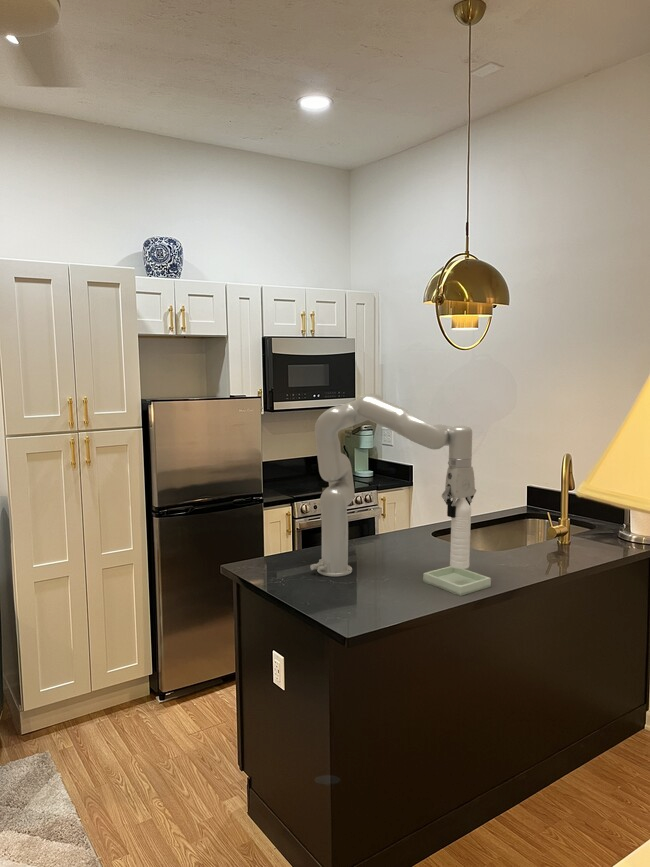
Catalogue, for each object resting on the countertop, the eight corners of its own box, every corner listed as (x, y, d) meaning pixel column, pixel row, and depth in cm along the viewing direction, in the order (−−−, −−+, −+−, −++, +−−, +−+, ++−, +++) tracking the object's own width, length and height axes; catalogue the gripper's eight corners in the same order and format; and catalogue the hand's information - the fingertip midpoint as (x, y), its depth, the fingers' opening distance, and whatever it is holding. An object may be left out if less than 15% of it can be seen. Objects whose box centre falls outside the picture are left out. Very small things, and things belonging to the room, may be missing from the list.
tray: (460, 596, 211) (460, 587, 211) (423, 581, 225) (423, 573, 225) (490, 586, 220) (490, 578, 220) (453, 573, 234) (453, 565, 234)
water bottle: (473, 567, 219) (475, 495, 217) (457, 570, 217) (459, 496, 214) (457, 560, 227) (459, 490, 224) (442, 562, 224) (444, 491, 222)
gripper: (450, 467, 210) (449, 521, 212) (485, 462, 220) (484, 514, 222) (433, 464, 216) (432, 517, 218) (469, 459, 226) (467, 510, 228)
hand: (458, 515), depth 220 cm, fingers closed on water bottle, 6 cm apart
